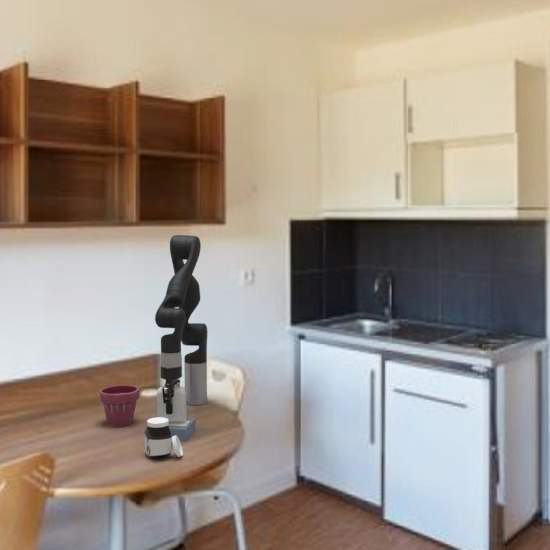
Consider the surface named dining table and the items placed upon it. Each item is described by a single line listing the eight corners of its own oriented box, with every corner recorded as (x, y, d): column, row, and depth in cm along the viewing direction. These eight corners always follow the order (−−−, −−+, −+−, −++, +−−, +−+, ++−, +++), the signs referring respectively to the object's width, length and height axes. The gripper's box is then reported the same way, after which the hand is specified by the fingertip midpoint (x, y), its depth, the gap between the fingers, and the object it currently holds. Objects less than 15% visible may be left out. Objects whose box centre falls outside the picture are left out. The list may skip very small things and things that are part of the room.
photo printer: (156, 421, 233) (155, 387, 232) (158, 418, 237) (158, 384, 236) (185, 422, 232) (185, 387, 231) (187, 418, 237) (186, 384, 236)
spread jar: (141, 452, 216) (141, 417, 215) (174, 447, 221) (174, 413, 221) (154, 464, 206) (153, 428, 205) (188, 458, 211) (187, 422, 210)
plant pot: (92, 425, 245) (91, 391, 244) (117, 415, 257) (117, 382, 256) (122, 430, 238) (122, 395, 237) (147, 420, 251) (146, 387, 250)
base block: (158, 427, 242) (158, 416, 242) (195, 429, 240) (195, 418, 240) (146, 439, 229) (146, 427, 229) (185, 441, 227) (185, 429, 227)
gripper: (166, 359, 240) (167, 405, 242) (154, 368, 226) (154, 417, 228) (187, 360, 239) (187, 406, 241) (175, 369, 225) (176, 418, 227)
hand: (171, 411), depth 234 cm, fingers open, 4 cm apart
